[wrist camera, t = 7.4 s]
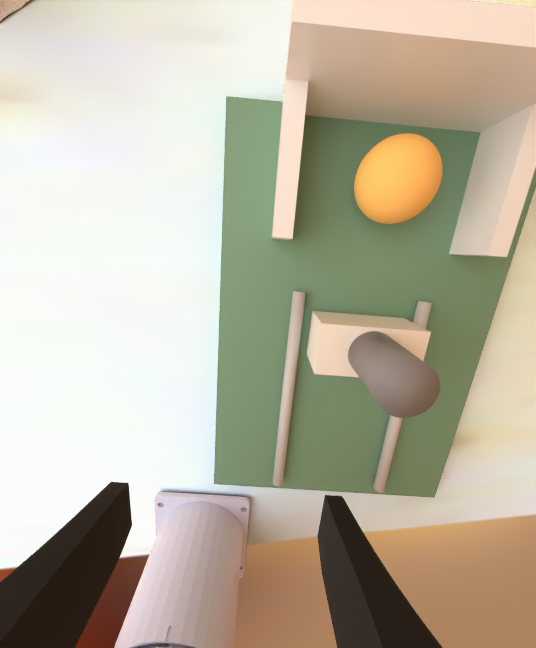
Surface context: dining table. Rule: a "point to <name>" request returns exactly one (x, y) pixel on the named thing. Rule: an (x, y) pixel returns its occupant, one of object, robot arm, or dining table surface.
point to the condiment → (10, 6)
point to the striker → (376, 358)
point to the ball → (398, 178)
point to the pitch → (339, 309)
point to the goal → (420, 95)
